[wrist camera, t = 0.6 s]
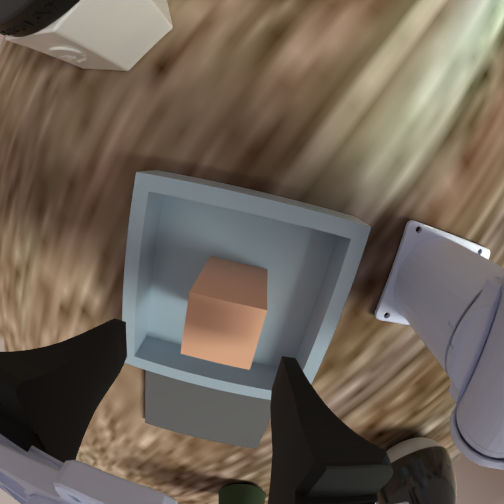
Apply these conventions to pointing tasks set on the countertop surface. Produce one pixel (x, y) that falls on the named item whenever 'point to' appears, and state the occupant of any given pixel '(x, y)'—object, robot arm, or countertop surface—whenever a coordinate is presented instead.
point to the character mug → (241, 494)
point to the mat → (205, 411)
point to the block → (225, 313)
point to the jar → (87, 29)
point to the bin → (241, 251)
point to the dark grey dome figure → (419, 474)
